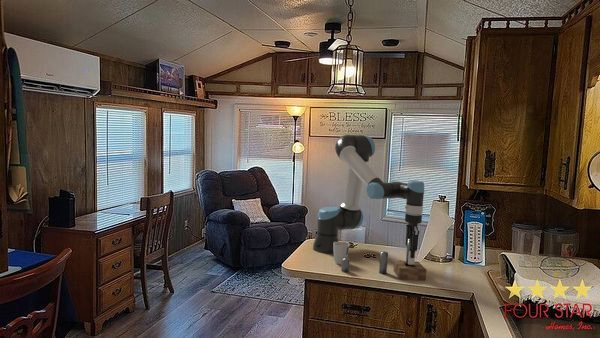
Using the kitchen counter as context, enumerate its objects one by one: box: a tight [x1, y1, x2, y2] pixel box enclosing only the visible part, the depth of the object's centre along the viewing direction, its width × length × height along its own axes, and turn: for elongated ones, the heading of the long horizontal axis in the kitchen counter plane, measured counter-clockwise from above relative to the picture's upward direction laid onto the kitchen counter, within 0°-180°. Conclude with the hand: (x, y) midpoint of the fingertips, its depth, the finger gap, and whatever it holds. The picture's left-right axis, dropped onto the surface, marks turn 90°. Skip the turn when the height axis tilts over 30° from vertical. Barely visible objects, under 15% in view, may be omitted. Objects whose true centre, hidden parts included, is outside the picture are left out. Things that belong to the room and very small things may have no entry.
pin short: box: [340, 257, 351, 273], centre depth 205 cm, size 4×4×6 cm
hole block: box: [392, 260, 427, 281], centre depth 204 cm, size 12×12×5 cm
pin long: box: [405, 238, 414, 267], centre depth 203 cm, size 4×4×15 cm
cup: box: [333, 241, 350, 266], centre depth 217 cm, size 8×8×10 cm
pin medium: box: [378, 251, 389, 275], centre depth 206 cm, size 4×4×10 cm
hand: (409, 262), depth 204 cm, fingers closed on pin long, 4 cm apart
